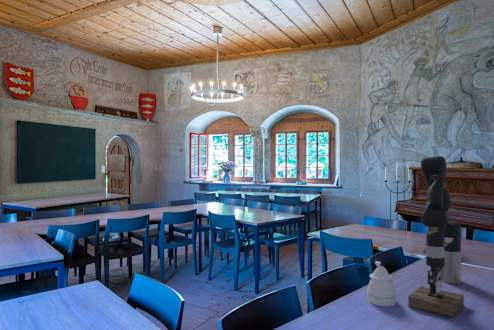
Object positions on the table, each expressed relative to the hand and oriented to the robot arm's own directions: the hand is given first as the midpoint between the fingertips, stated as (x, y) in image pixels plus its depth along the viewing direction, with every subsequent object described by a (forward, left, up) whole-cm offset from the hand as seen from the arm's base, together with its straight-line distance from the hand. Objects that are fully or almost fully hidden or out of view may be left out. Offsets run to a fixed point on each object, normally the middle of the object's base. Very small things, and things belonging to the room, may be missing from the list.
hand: (435, 290), depth 156 cm
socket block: (0, 0, -7) cm, 7 cm away
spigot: (0, 0, -6) cm, 6 cm away
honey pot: (+10, -21, -7) cm, 24 cm away
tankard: (-105, -28, -7) cm, 109 cm away
